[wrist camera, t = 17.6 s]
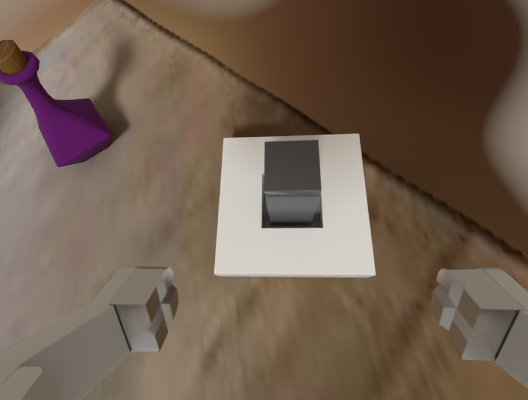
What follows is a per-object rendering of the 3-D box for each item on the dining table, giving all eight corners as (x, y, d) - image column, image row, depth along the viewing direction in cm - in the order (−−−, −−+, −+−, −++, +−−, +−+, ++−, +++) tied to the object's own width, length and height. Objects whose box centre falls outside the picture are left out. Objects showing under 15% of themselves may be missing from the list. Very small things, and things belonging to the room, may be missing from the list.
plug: (271, 225, 32) (264, 191, 22) (271, 189, 34) (264, 141, 24) (310, 225, 32) (321, 190, 22) (309, 189, 34) (318, 139, 23)
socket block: (221, 276, 32) (214, 274, 28) (229, 152, 37) (223, 138, 34) (366, 277, 30) (375, 275, 27) (352, 148, 36) (358, 133, 32)
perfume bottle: (103, 113, 41) (-25, -18, 24) (125, 148, 39) (-2, 30, 22) (57, 140, 40) (-111, 24, 23) (76, 178, 38) (-96, 79, 21)
